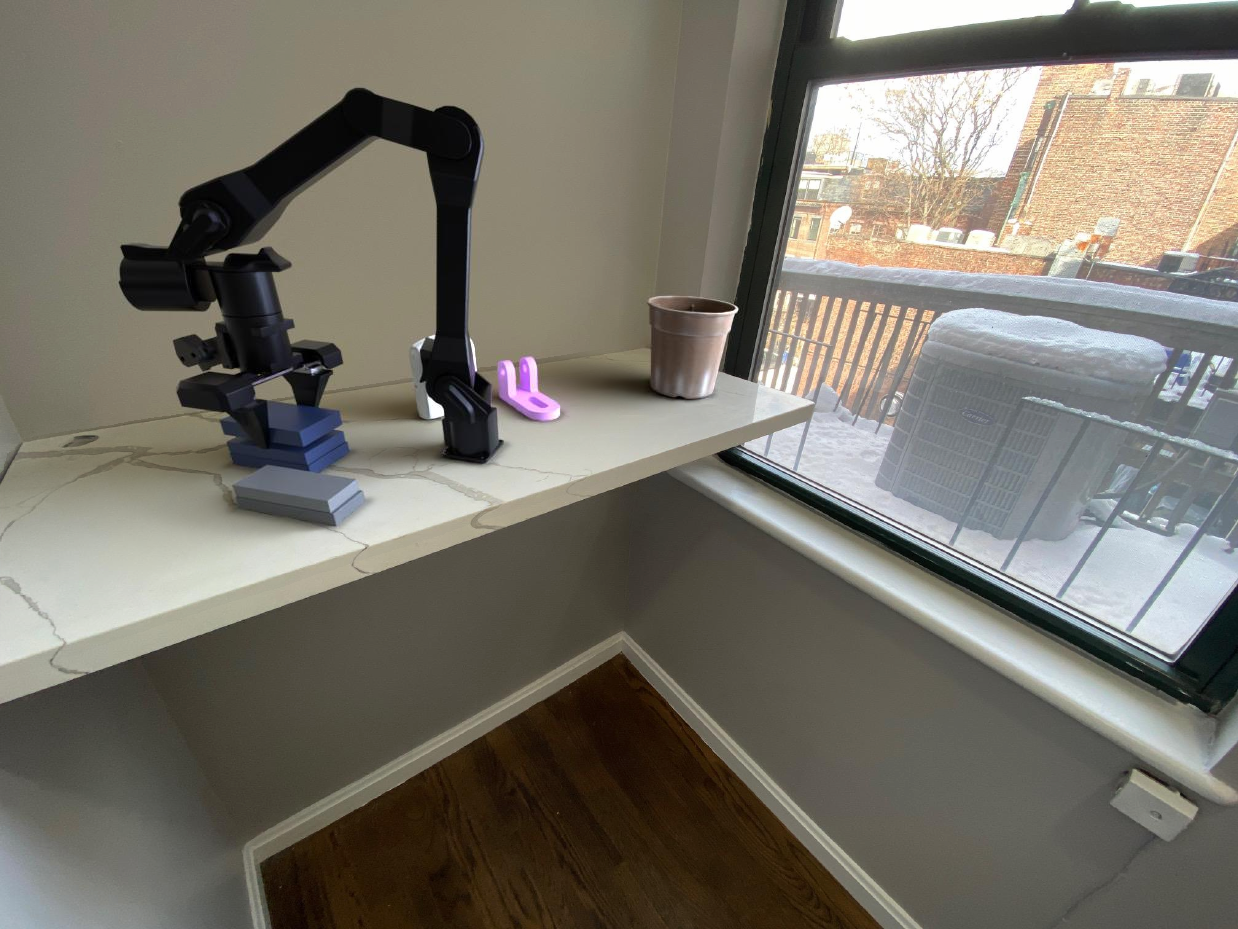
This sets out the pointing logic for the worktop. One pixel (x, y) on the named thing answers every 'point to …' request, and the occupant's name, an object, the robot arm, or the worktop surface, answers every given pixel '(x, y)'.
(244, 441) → the navy books
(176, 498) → the worktop surface
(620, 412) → the worktop surface
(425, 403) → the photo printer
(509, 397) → the bracket
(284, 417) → the navy book
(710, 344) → the plant pot
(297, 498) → the grey books
